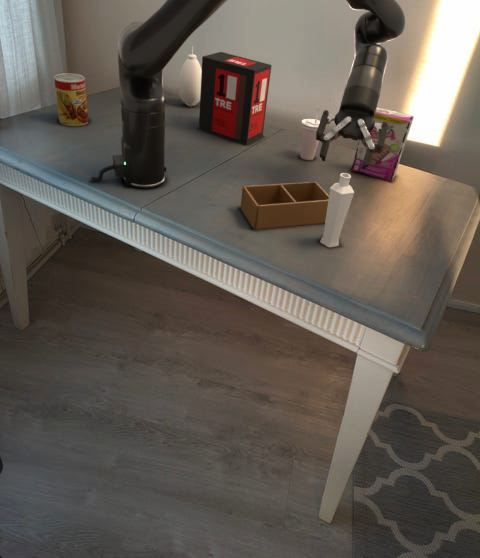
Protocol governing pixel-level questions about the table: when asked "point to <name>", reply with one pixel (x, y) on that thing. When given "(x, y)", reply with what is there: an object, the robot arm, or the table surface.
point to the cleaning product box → (233, 97)
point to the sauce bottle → (190, 81)
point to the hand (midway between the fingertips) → (343, 163)
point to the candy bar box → (385, 145)
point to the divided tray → (284, 204)
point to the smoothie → (309, 137)
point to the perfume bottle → (337, 210)
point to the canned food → (71, 99)
